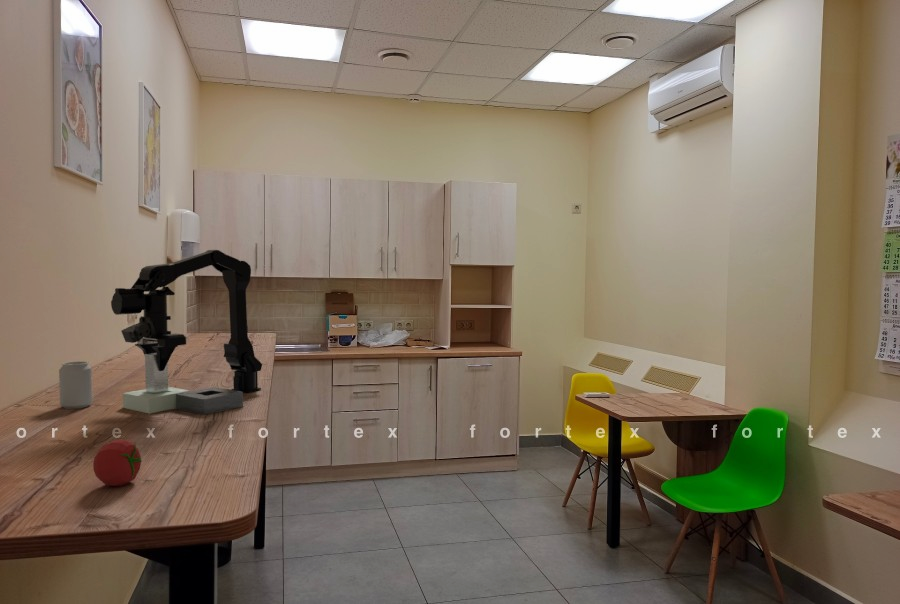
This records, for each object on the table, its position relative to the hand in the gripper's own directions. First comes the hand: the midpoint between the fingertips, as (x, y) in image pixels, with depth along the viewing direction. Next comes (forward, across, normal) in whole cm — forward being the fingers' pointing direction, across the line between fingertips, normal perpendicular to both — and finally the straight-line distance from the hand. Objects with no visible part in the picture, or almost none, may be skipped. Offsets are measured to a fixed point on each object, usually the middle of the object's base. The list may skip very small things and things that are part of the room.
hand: (156, 370), depth 167 cm
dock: (+10, 0, 0) cm, 10 cm away
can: (+10, -18, -12) cm, 24 cm away
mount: (+10, +13, +7) cm, 18 cm away
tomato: (+10, +51, -39) cm, 65 cm away
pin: (+6, 0, 0) cm, 6 cm away
